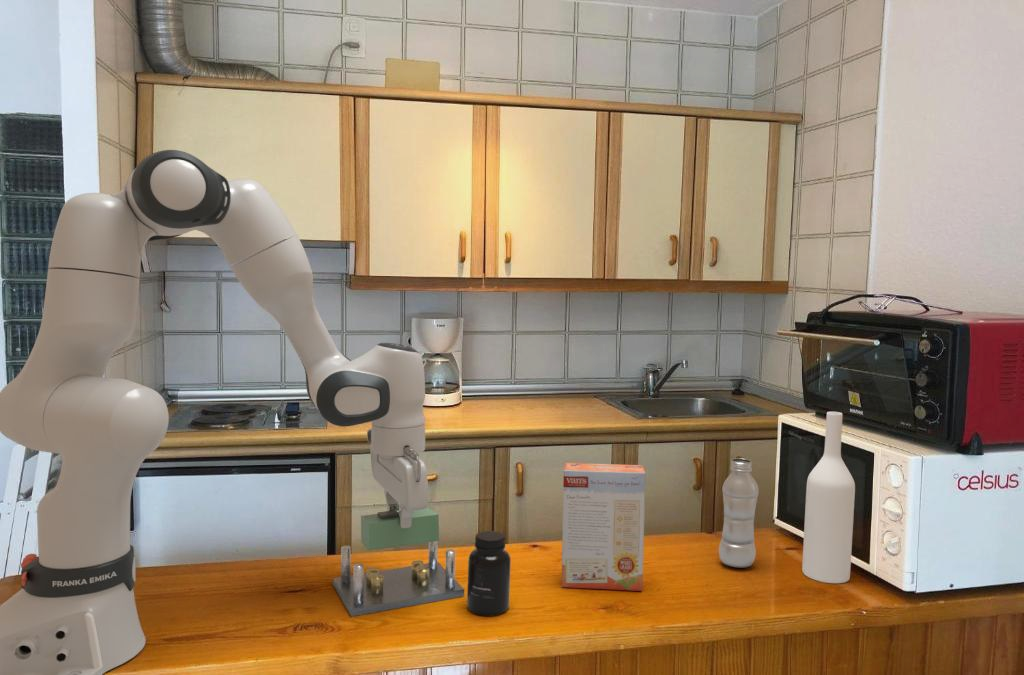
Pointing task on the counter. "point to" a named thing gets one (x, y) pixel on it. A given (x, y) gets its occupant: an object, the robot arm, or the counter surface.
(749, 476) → the plastic bottle
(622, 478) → the cracker box
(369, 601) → the chassis
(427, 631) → the counter surface
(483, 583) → the supplement bottle
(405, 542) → the green rectangular block
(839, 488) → the bottle
